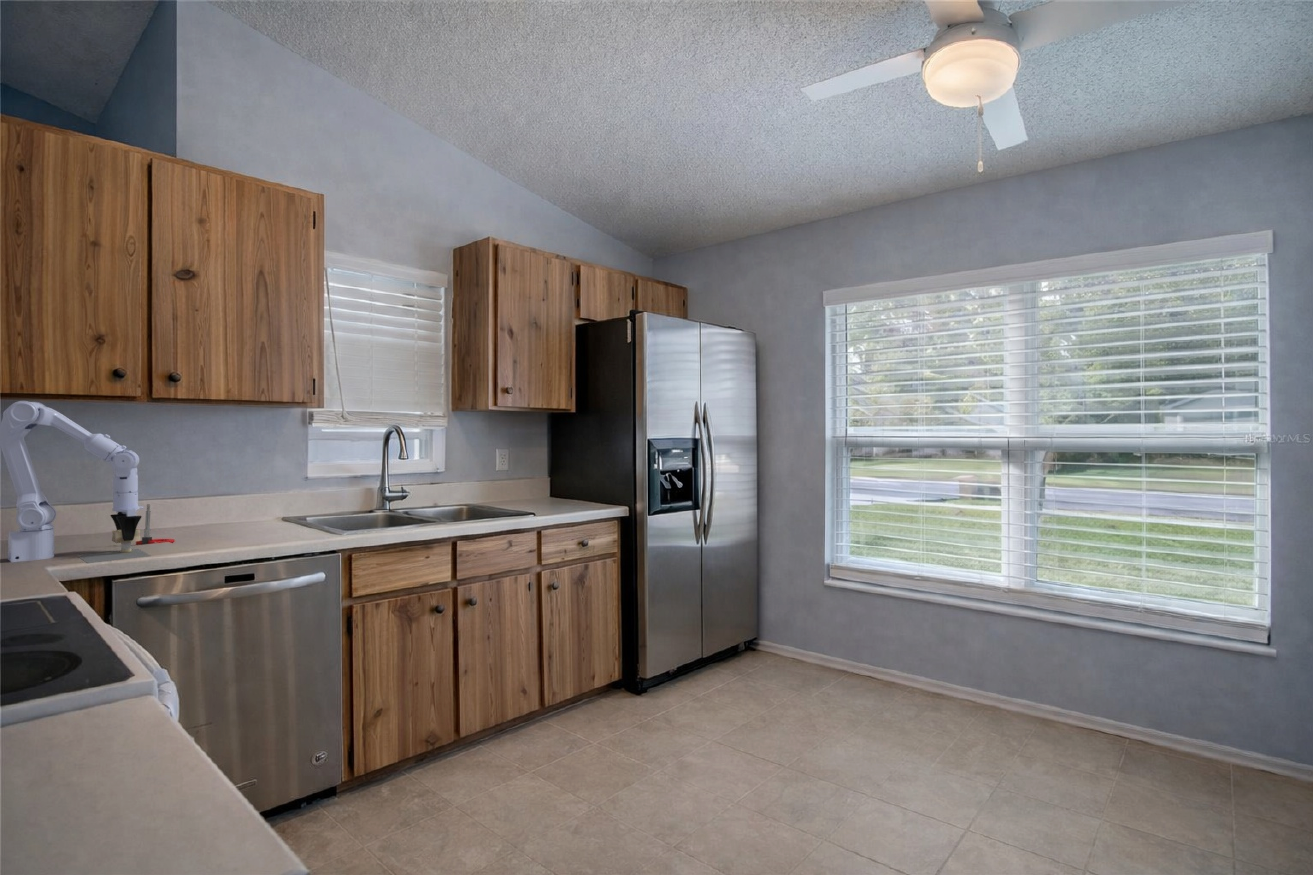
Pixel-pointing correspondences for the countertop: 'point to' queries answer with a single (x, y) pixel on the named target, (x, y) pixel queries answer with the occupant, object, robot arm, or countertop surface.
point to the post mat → (114, 554)
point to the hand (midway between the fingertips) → (126, 539)
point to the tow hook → (147, 538)
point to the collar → (118, 536)
